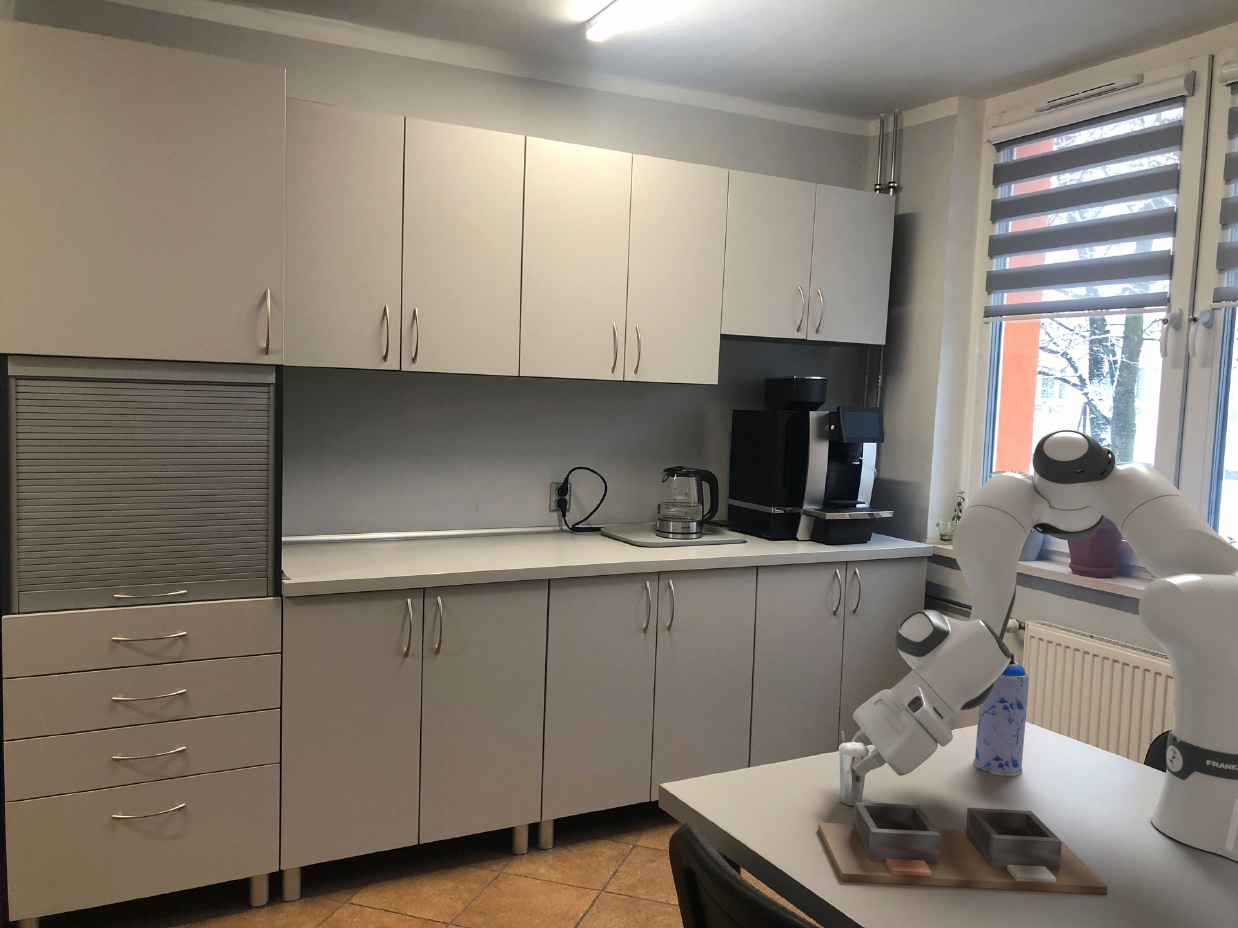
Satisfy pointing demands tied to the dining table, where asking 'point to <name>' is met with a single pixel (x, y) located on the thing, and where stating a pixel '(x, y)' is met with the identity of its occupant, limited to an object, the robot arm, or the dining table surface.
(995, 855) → the port board
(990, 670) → the robot arm
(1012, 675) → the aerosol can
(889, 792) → the dining table surface
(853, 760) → the milkshake
